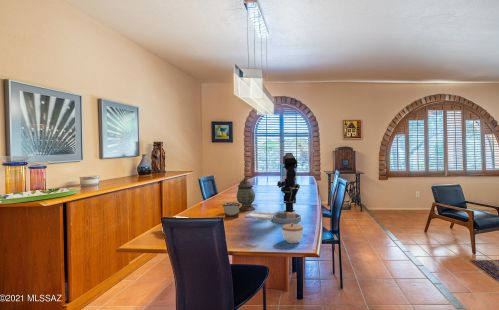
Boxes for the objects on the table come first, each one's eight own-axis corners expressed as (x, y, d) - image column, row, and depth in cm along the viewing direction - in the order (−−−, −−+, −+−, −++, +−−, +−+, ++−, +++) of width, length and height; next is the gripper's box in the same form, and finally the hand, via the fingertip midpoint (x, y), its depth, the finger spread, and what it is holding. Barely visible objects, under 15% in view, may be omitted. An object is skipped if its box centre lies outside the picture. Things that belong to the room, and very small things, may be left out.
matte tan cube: (289, 219, 200) (289, 212, 200) (295, 219, 198) (295, 212, 198) (286, 220, 196) (286, 213, 196) (293, 221, 194) (293, 214, 194)
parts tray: (254, 213, 221) (253, 211, 221) (278, 215, 212) (278, 213, 212) (245, 217, 209) (245, 215, 209) (270, 220, 200) (270, 217, 200)
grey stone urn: (253, 212, 225) (253, 178, 224) (235, 211, 228) (234, 178, 227) (257, 208, 239) (256, 176, 238) (239, 208, 241) (238, 176, 241)
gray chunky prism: (280, 218, 203) (280, 211, 203) (287, 218, 201) (286, 212, 201) (277, 219, 199) (277, 212, 199) (284, 220, 197) (284, 213, 197)
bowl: (279, 216, 211) (279, 211, 211) (304, 218, 202) (304, 214, 202) (268, 222, 195) (268, 217, 195) (295, 225, 186) (295, 220, 186)
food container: (241, 216, 213) (241, 201, 213) (240, 218, 207) (240, 203, 207) (224, 216, 215) (223, 202, 214) (222, 218, 209) (222, 203, 208)
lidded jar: (280, 238, 160) (279, 220, 160) (300, 237, 161) (299, 220, 161) (284, 245, 150) (283, 226, 150) (305, 244, 151) (305, 225, 150)
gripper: (284, 175, 208) (284, 197, 209) (273, 177, 192) (273, 202, 192) (299, 175, 203) (300, 198, 203) (289, 178, 186) (290, 203, 187)
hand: (290, 200), depth 197 cm, fingers open, 9 cm apart
